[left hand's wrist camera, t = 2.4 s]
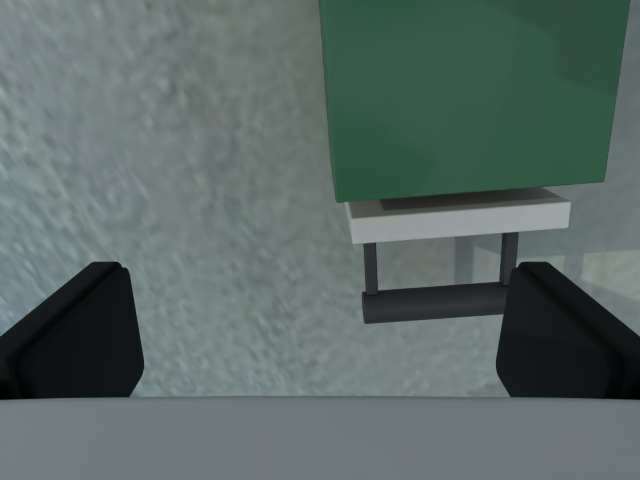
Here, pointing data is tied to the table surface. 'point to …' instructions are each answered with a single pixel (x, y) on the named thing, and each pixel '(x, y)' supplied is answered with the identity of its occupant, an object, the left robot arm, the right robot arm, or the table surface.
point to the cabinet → (469, 93)
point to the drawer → (449, 221)
